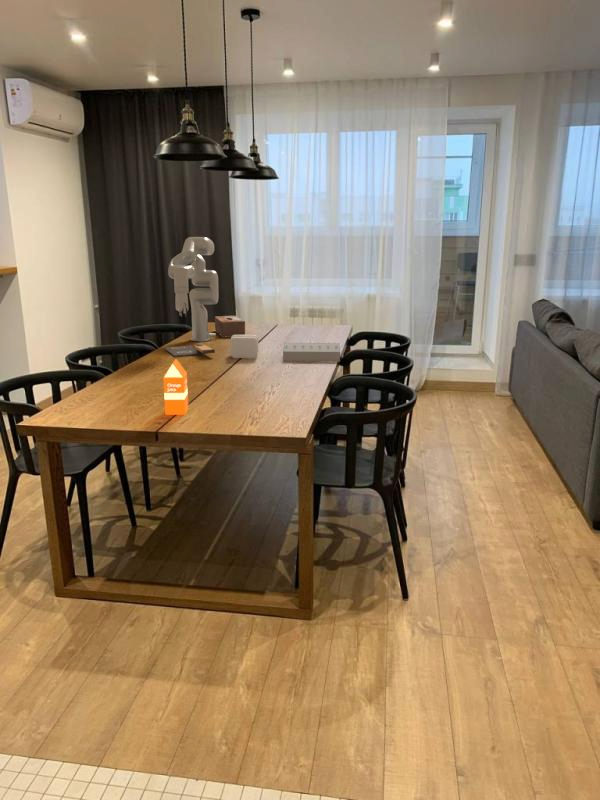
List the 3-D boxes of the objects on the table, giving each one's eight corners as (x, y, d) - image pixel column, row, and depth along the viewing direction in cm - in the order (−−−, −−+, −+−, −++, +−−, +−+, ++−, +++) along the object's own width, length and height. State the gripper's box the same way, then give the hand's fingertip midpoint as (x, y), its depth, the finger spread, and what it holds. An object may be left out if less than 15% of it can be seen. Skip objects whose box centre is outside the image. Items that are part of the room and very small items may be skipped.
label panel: (195, 346, 366) (194, 342, 365) (206, 354, 345) (206, 350, 344) (164, 349, 359) (164, 345, 358) (174, 357, 338) (174, 352, 337)
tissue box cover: (245, 336, 400) (244, 321, 398) (223, 338, 396) (222, 322, 393) (236, 330, 424) (236, 315, 421) (215, 331, 420) (214, 316, 417)
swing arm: (193, 348, 349) (193, 344, 348) (204, 347, 352) (204, 343, 351) (203, 353, 334) (203, 349, 333) (214, 352, 336) (214, 348, 336)
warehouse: (283, 362, 330) (283, 347, 328) (284, 356, 344) (284, 342, 342) (340, 362, 329) (340, 348, 327) (338, 356, 343) (339, 343, 341)
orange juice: (188, 408, 247) (186, 358, 241) (185, 414, 238) (183, 363, 233) (168, 408, 246) (166, 358, 241) (164, 414, 238) (161, 363, 232)
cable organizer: (229, 359, 335) (228, 337, 332) (231, 355, 345) (231, 334, 342) (257, 359, 335) (257, 337, 331) (258, 355, 345) (258, 334, 342)
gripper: (171, 288, 341) (173, 322, 346) (178, 291, 328) (179, 326, 333) (184, 288, 344) (186, 321, 349) (192, 291, 331) (193, 325, 336)
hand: (183, 323), depth 341 cm, fingers closed
